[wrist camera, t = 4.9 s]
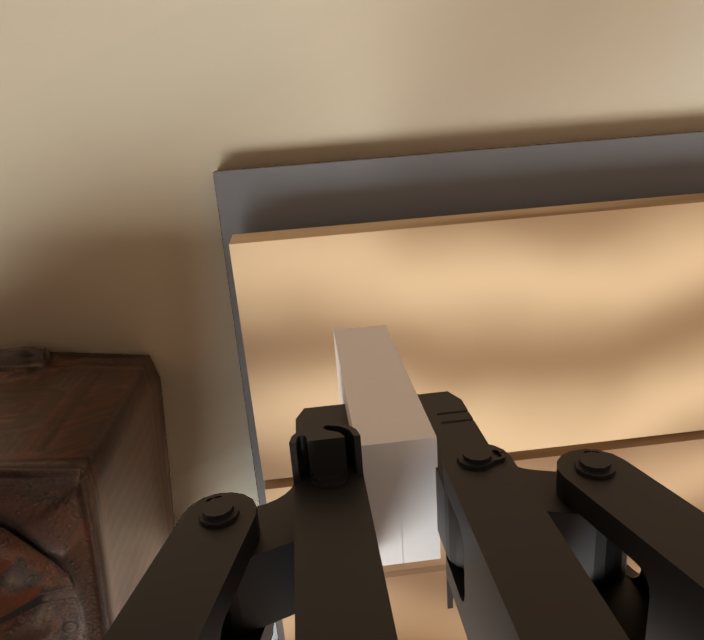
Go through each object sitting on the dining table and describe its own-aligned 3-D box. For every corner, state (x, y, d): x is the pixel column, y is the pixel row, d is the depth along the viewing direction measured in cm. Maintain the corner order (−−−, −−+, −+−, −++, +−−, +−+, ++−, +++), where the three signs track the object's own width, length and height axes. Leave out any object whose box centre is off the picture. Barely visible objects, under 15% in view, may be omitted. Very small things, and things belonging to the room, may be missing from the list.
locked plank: (266, 470, 27) (264, 489, 25) (702, 421, 28) (724, 436, 26) (290, 650, 30) (290, 677, 28) (683, 598, 31) (702, 621, 29)
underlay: (216, 170, 24) (213, 172, 23) (729, 128, 25) (746, 128, 24) (285, 670, 31) (284, 686, 30) (677, 617, 32) (688, 631, 32)
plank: (232, 234, 23) (228, 244, 21) (741, 189, 24) (769, 196, 23) (264, 459, 26) (263, 480, 25) (704, 409, 28) (726, 427, 26)
